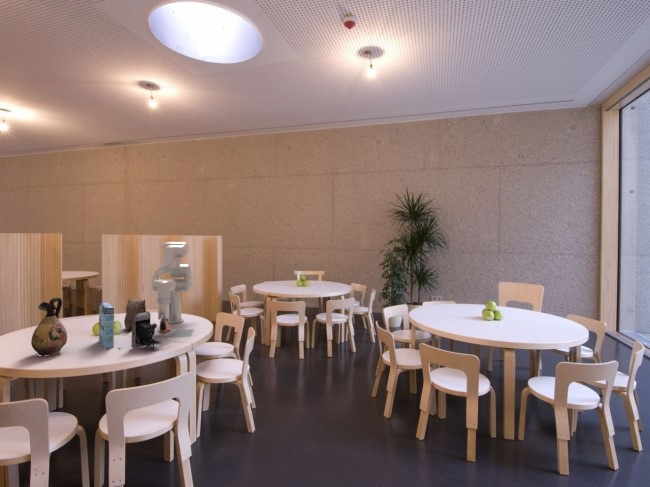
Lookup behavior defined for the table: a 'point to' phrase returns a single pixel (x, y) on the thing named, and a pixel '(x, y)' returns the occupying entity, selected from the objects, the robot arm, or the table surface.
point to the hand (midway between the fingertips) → (164, 328)
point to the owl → (133, 311)
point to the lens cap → (166, 327)
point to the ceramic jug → (49, 330)
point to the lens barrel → (166, 334)
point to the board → (179, 334)
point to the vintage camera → (143, 330)
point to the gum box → (106, 325)
